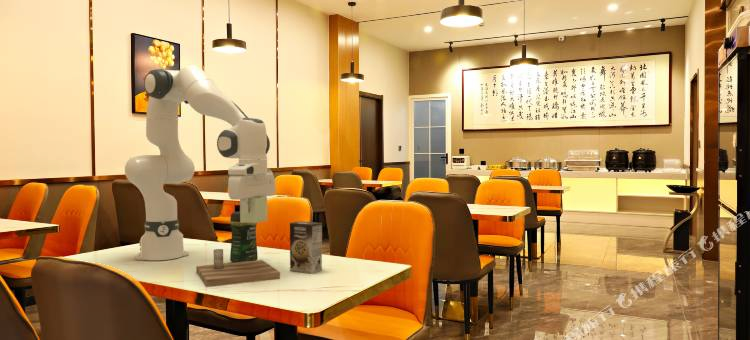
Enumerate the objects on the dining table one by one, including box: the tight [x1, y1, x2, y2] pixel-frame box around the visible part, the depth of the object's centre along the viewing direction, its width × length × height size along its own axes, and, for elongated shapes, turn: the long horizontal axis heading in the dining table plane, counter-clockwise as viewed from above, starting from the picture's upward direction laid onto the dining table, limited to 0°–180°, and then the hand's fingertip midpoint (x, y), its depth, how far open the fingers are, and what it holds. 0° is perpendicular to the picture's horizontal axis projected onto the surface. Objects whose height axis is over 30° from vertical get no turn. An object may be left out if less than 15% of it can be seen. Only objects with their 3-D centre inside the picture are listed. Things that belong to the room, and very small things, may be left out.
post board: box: [195, 248, 281, 288], centre depth 168 cm, size 22×22×8 cm
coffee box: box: [289, 220, 323, 274], centre depth 174 cm, size 9×6×16 cm
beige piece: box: [239, 196, 268, 224], centre depth 167 cm, size 6×6×8 cm
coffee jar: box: [229, 210, 258, 263], centre depth 190 cm, size 10×8×19 cm
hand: (253, 211), depth 167 cm, fingers closed on beige piece, 6 cm apart
